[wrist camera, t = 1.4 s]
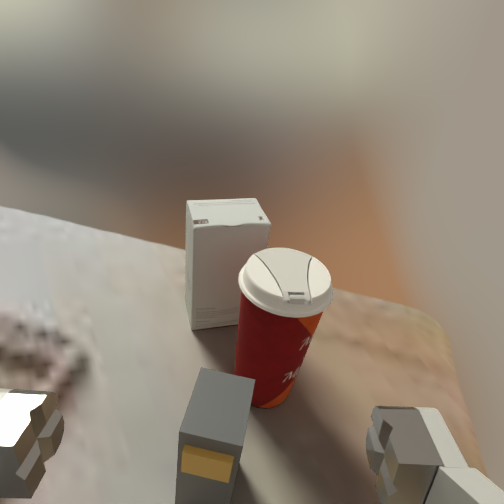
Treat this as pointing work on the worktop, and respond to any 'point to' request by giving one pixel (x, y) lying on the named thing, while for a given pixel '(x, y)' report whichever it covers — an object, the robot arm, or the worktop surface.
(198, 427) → the plug block
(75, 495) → the worktop surface
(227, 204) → the skincare box
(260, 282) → the coffee cup
